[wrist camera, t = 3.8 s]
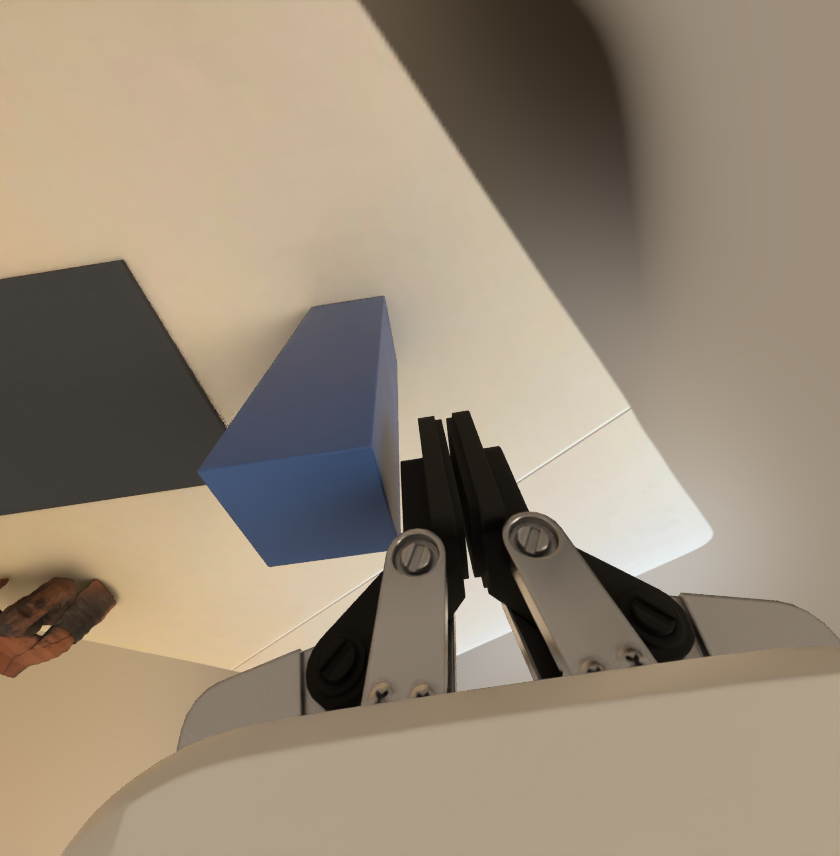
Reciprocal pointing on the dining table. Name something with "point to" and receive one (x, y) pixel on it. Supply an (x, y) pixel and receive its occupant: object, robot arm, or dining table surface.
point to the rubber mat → (93, 393)
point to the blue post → (317, 442)
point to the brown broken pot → (49, 622)
